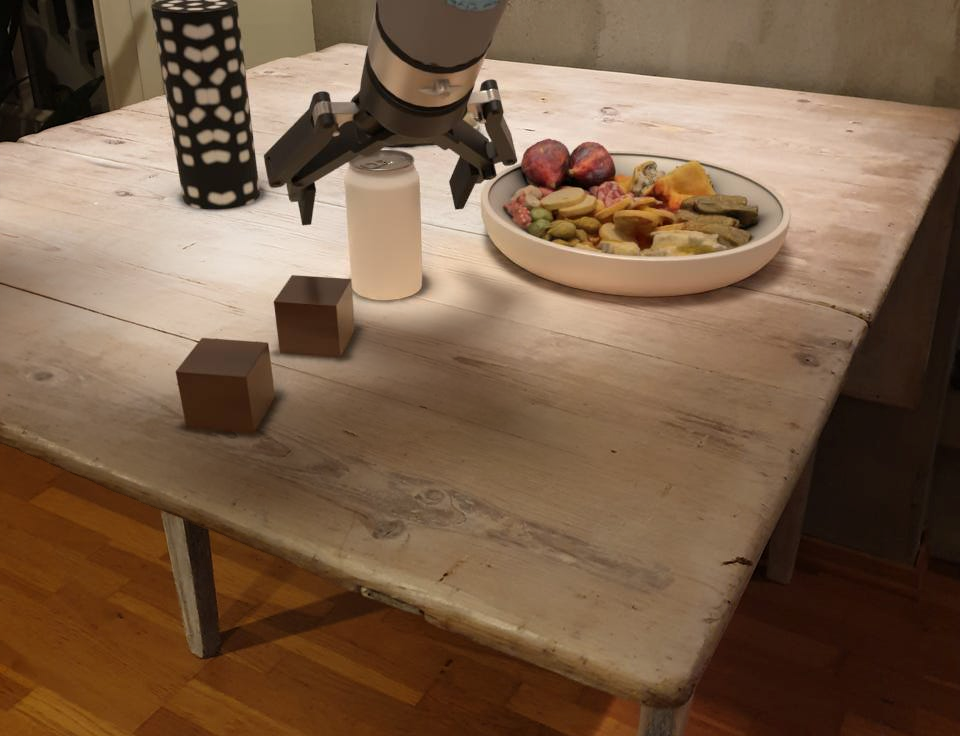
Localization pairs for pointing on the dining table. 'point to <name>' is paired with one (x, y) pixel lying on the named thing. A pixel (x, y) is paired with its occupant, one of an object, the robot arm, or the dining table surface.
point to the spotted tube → (207, 101)
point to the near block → (226, 385)
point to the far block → (315, 316)
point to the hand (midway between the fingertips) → (381, 202)
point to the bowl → (632, 220)
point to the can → (384, 225)
